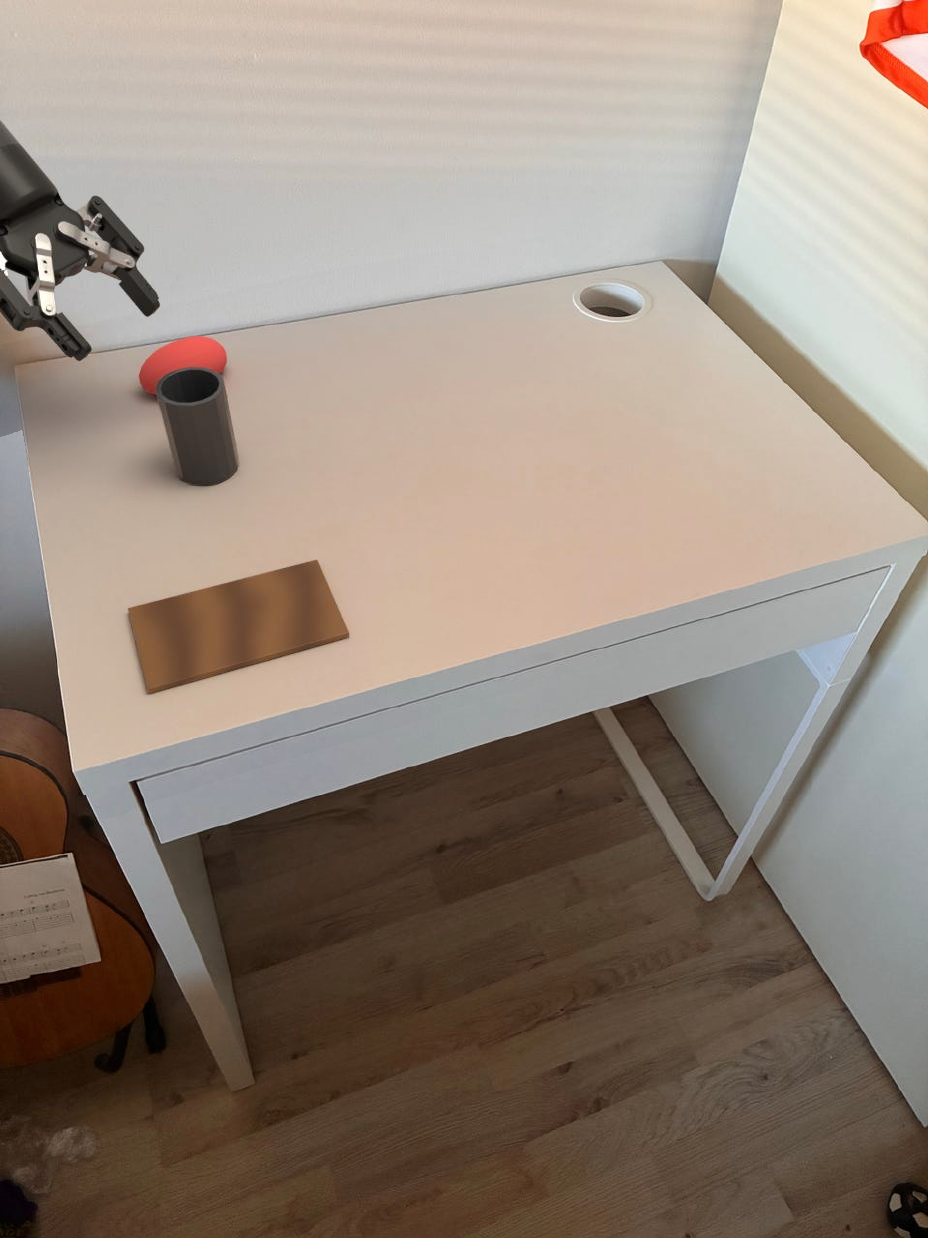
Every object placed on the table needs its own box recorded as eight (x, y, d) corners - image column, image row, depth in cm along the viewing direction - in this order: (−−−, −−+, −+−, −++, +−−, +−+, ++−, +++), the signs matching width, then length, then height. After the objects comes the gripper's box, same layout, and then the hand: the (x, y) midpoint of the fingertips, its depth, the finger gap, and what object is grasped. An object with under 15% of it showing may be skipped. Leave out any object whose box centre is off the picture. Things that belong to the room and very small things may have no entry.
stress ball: (235, 404, 100) (240, 342, 98) (149, 398, 94) (152, 333, 92) (217, 395, 104) (221, 336, 102) (133, 389, 98) (135, 326, 96)
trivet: (148, 694, 73) (147, 689, 72) (129, 612, 78) (127, 607, 78) (349, 637, 77) (349, 632, 76) (317, 563, 82) (317, 558, 82)
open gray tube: (182, 491, 88) (162, 411, 82) (170, 454, 92) (150, 374, 85) (245, 477, 90) (230, 397, 83) (231, 441, 93) (215, 361, 87)
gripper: (-78, 176, 72) (76, 353, 77) (61, 115, 81) (192, 278, 86) (-97, 227, 78) (48, 389, 83) (35, 165, 86) (159, 315, 91)
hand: (121, 332), depth 84 cm, fingers open, 8 cm apart
